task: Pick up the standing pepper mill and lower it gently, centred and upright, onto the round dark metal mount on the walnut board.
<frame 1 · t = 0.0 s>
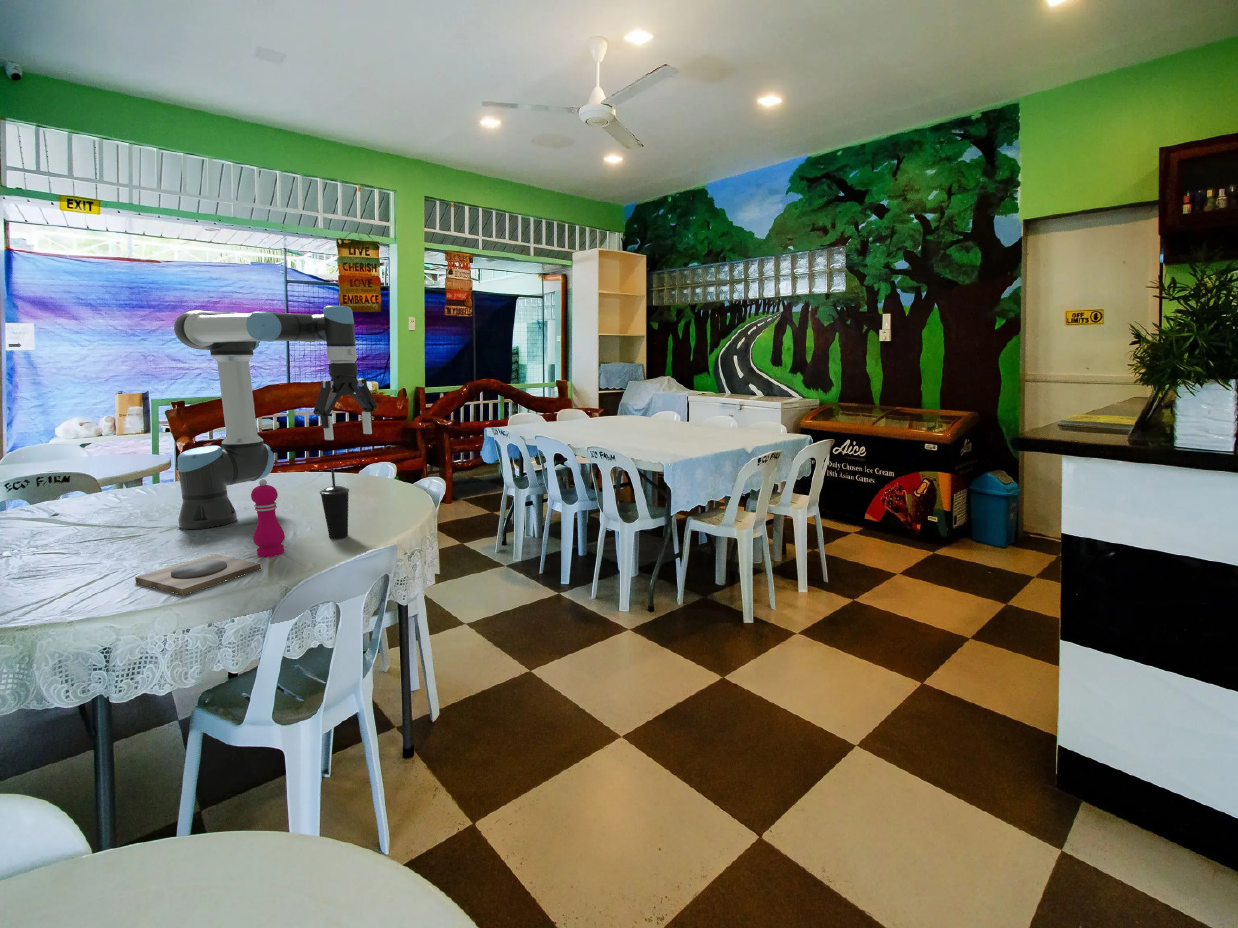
hand: (349, 436, 178), 28 cm above the table, tool pointing down, fingers open, 13 cm apart
drinking cup: (338, 537, 176), on the table
mount board: (200, 576, 145), on the table
pepper mill: (271, 554, 162), on the table
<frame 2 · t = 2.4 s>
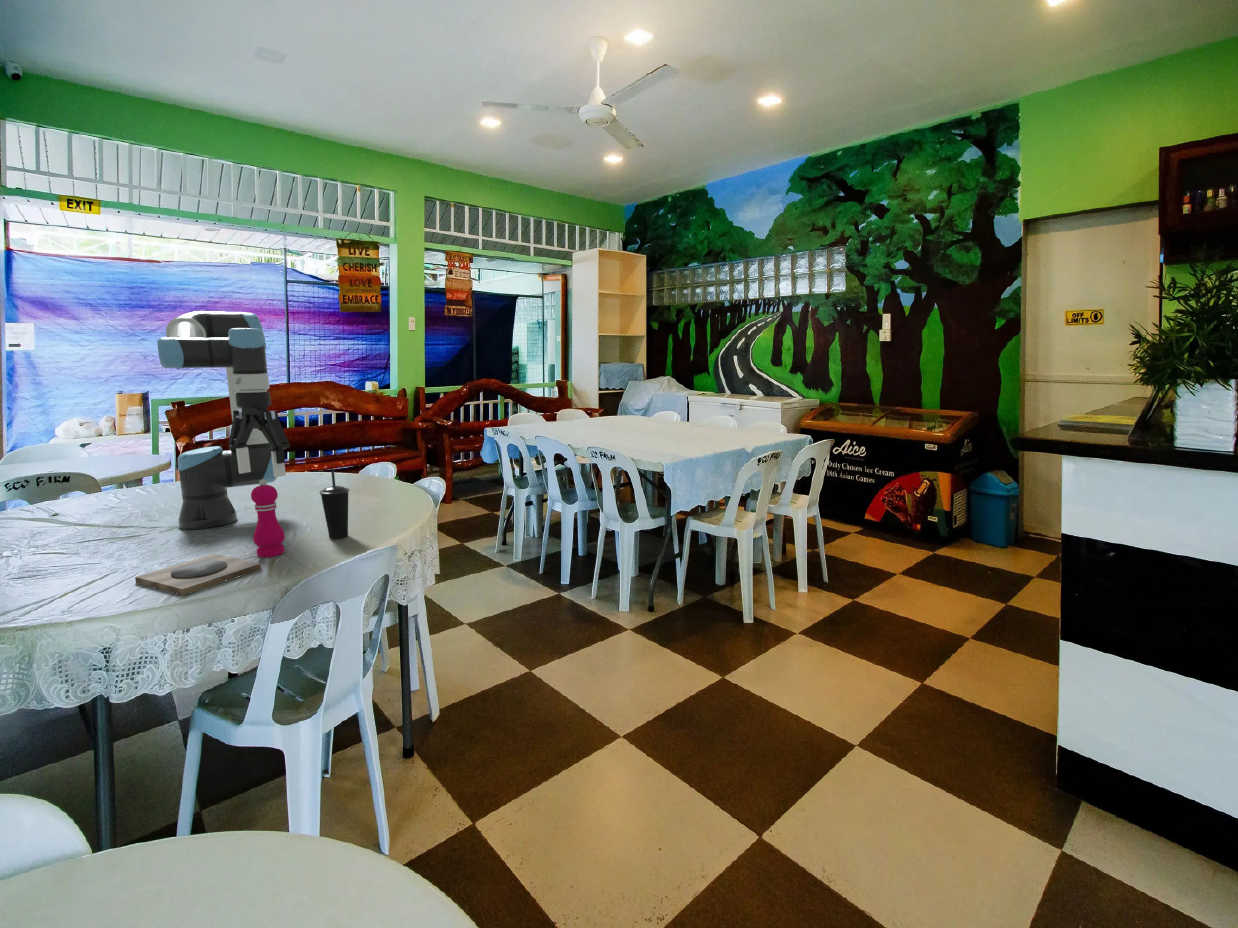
hand: (262, 474, 157), 21 cm above the table, tool pointing down, fingers open, 13 cm apart
nothing on the table moved.
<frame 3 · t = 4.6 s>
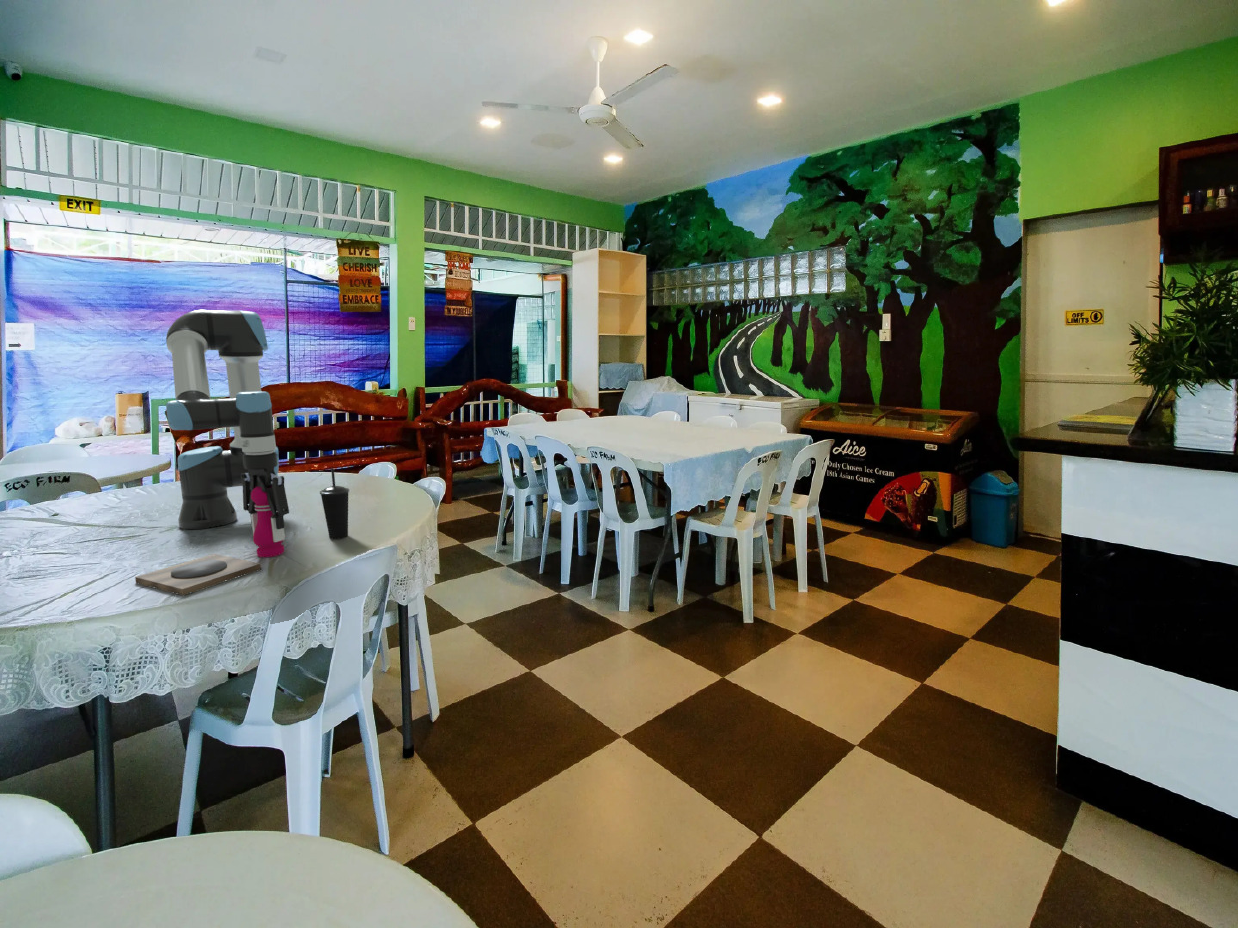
hand: (269, 538, 161), 4 cm above the table, tool pointing down, fingers closed on pepper mill, 7 cm apart
pepper mill: (271, 554, 161), on the table, touching gripper
everything else where it was.
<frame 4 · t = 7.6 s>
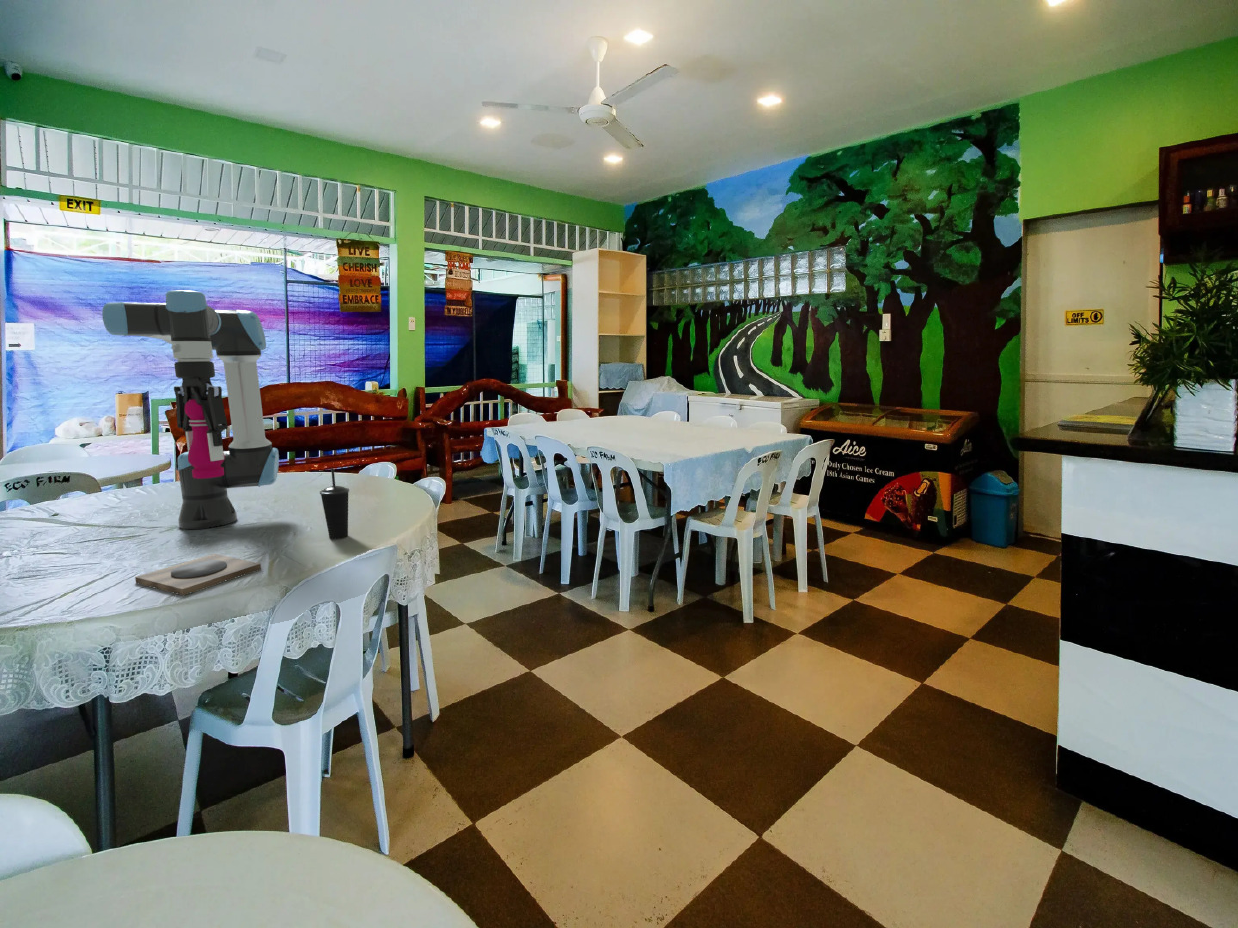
hand: (206, 459, 145), 27 cm above the table, tool pointing down, fingers closed on pepper mill, 7 cm apart
pepper mill: (208, 476, 145), point 23 cm above the table, touching gripper
everything else where it was.
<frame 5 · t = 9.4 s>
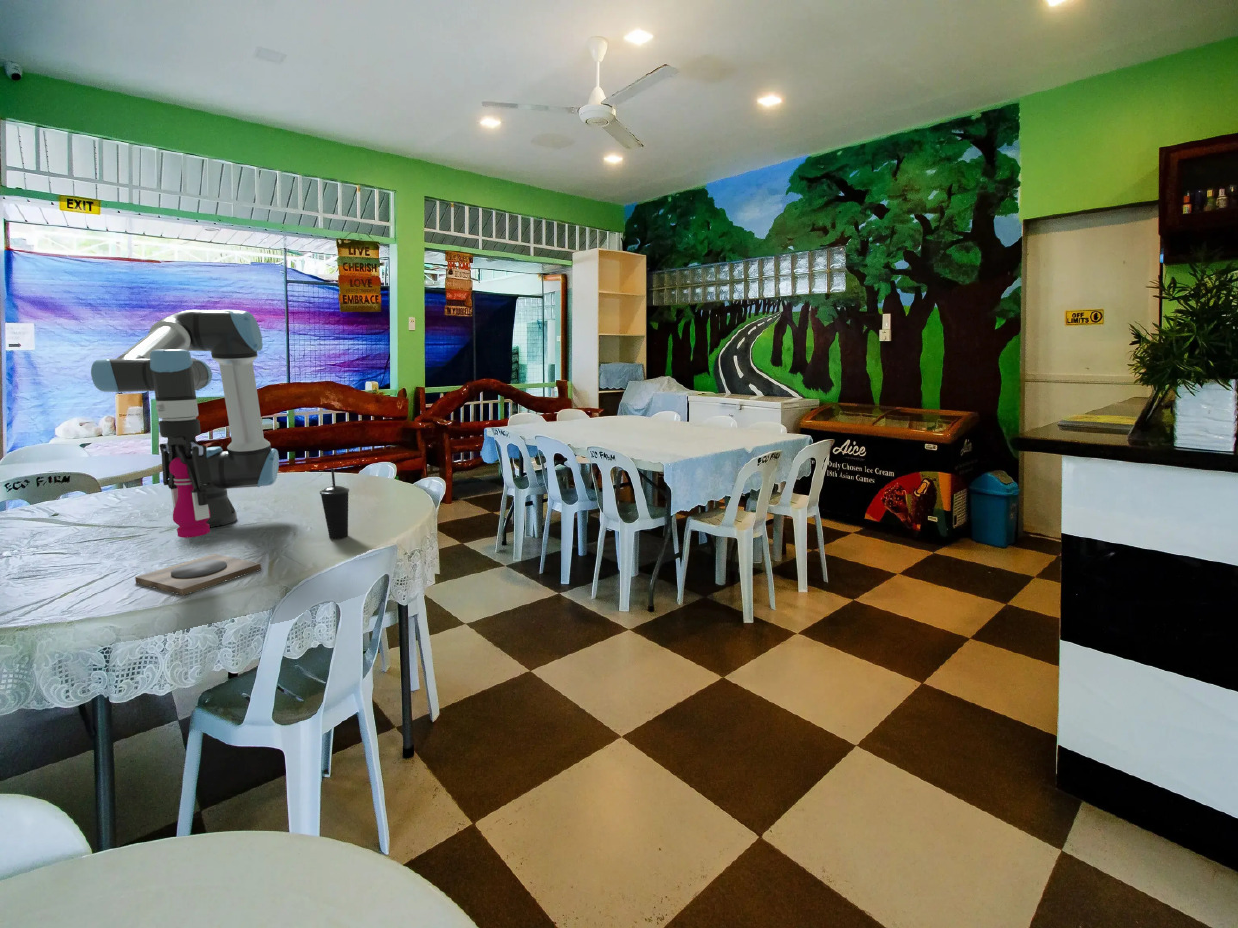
hand: (192, 516, 143), 15 cm above the table, tool pointing down, fingers closed on pepper mill, 7 cm apart
pepper mill: (194, 534, 143), point 10 cm above the table, touching gripper
everything else where it was.
when the fingers open (8 cm above the table, at t = 10.9 s): pepper mill drops 1 cm, resting on mount board.
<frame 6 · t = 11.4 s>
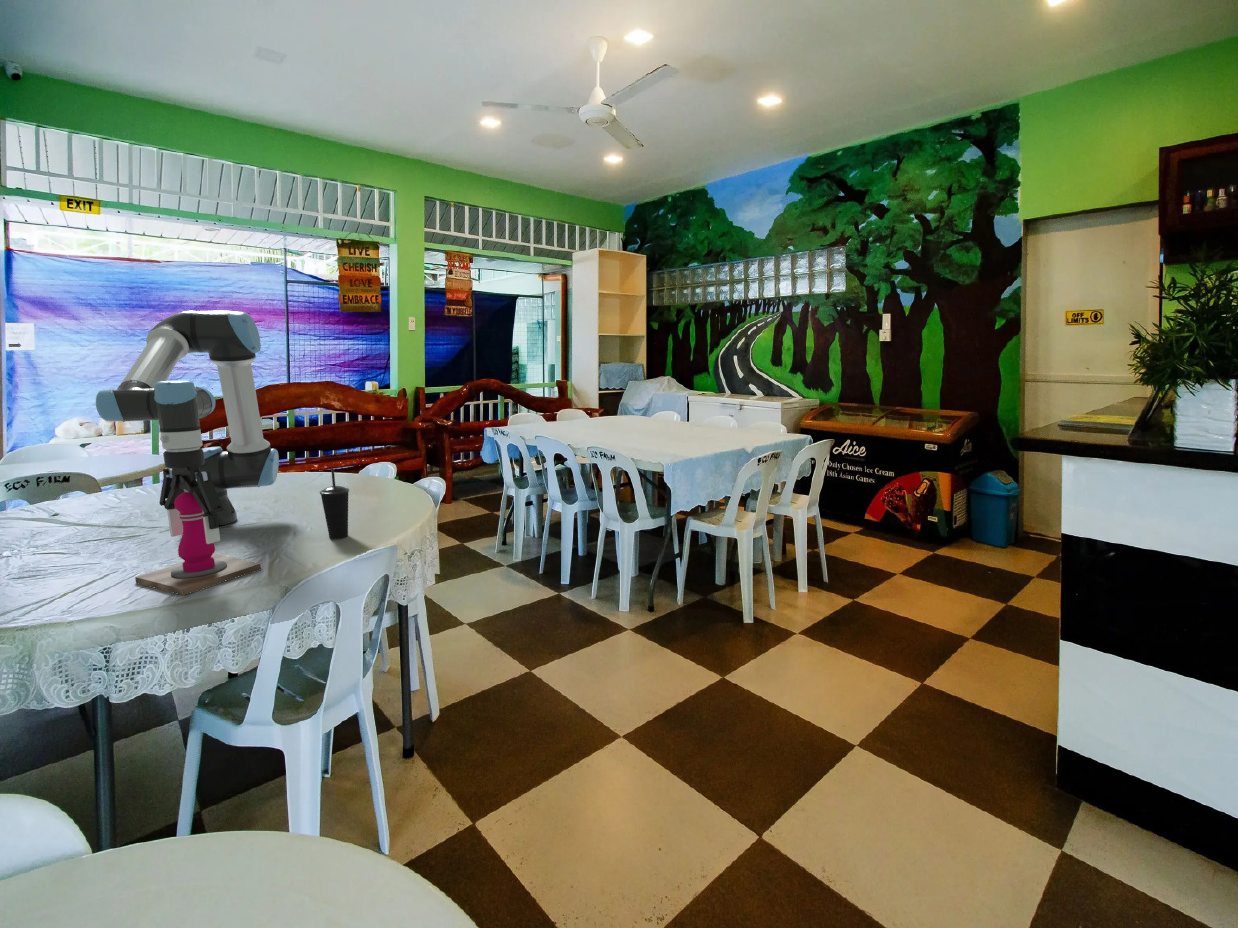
hand: (195, 538, 144), 9 cm above the table, tool pointing down, fingers open, 13 cm apart
pepper mill: (199, 568, 145), point 2 cm above the table, touching mount board
everything else where it was.
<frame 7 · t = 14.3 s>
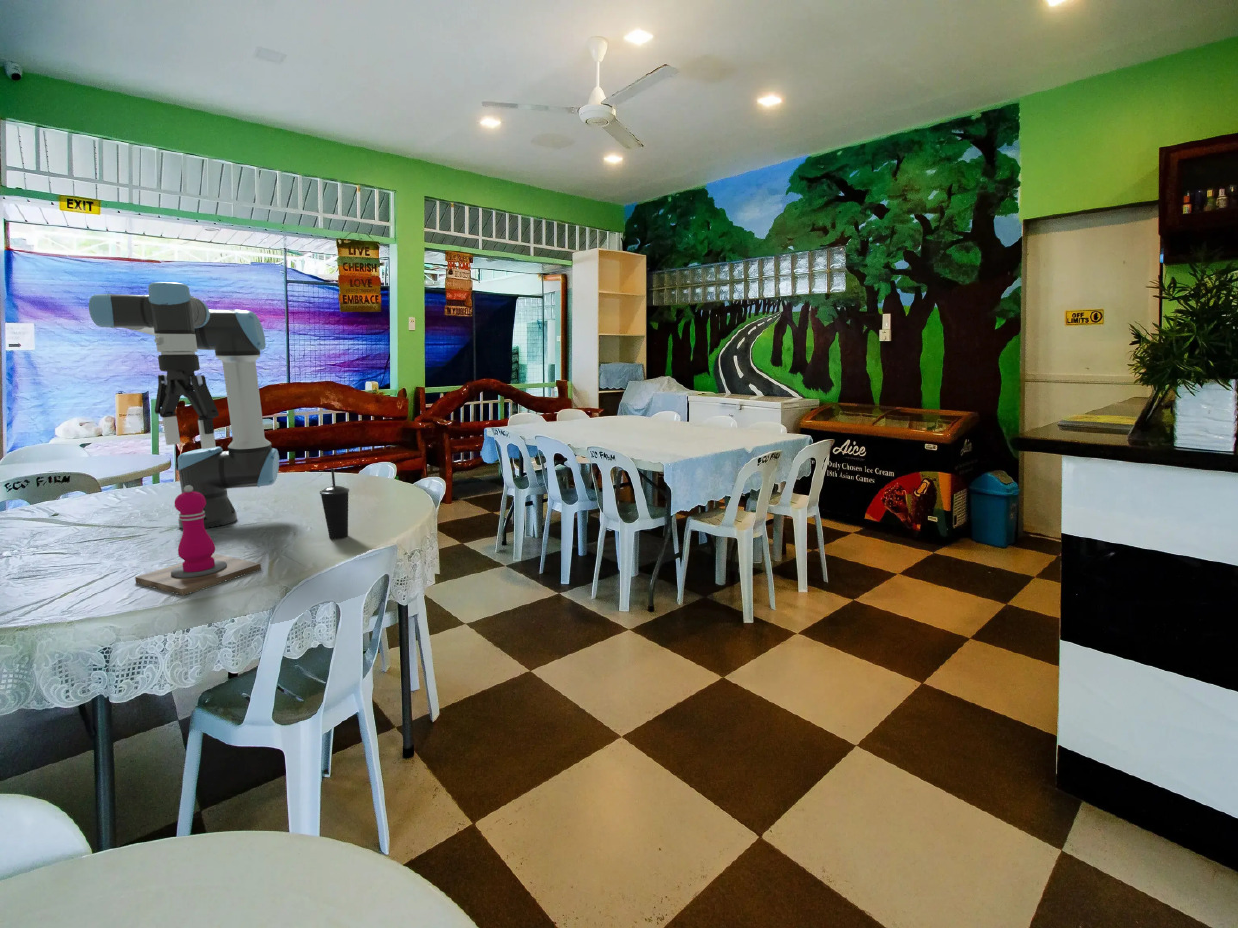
hand: (190, 446, 143), 31 cm above the table, tool pointing down, fingers open, 13 cm apart
nothing on the table moved.
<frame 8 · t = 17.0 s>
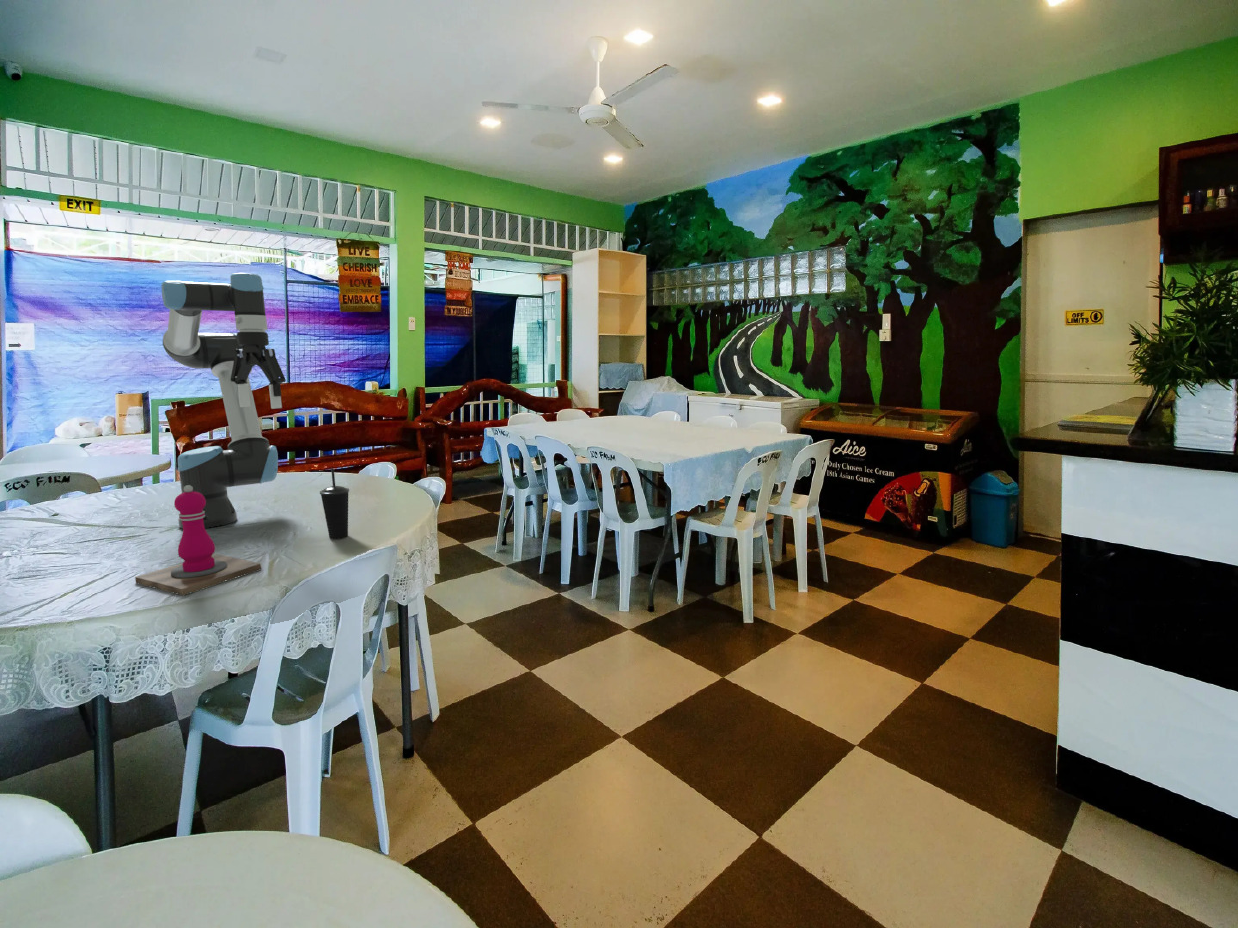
hand: (260, 407, 175), 37 cm above the table, tool pointing down, fingers open, 13 cm apart
nothing on the table moved.
at the end: pepper mill 0.1 cm off-centre on the mount board, point 1.8 cm above the mount board's base; pepper mill tilted 0°; the gripper is holding nothing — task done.
